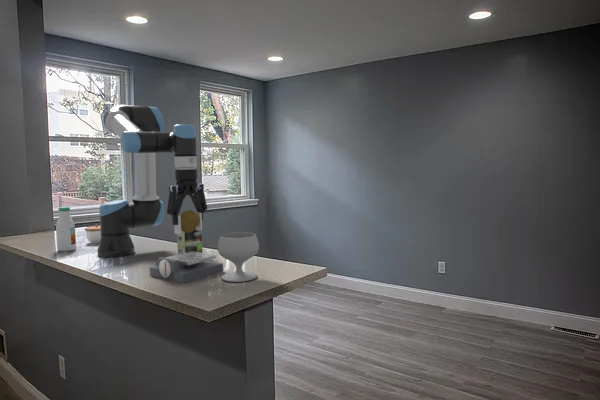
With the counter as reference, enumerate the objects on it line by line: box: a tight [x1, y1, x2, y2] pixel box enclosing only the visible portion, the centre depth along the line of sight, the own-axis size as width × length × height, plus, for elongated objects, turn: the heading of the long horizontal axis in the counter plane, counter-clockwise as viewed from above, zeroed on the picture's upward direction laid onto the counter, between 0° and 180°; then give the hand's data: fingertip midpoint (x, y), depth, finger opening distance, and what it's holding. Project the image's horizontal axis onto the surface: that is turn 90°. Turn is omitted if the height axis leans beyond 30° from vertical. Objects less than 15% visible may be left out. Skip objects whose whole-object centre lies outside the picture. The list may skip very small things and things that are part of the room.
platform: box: [164, 251, 217, 265], centre depth 155 cm, size 13×13×1 cm
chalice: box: [217, 231, 260, 283], centre depth 147 cm, size 14×14×15 cm
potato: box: [180, 209, 199, 233], centre depth 154 cm, size 7×8×8 cm
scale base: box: [149, 256, 224, 284], centre depth 154 cm, size 18×19×7 cm
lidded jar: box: [84, 223, 101, 244], centre depth 218 cm, size 11×11×9 cm
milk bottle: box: [55, 206, 77, 252], centre depth 199 cm, size 8×8×20 cm
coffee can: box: [176, 228, 204, 255], centre depth 180 cm, size 10×10×14 cm
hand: (188, 232), depth 154 cm, fingers closed on potato, 9 cm apart
